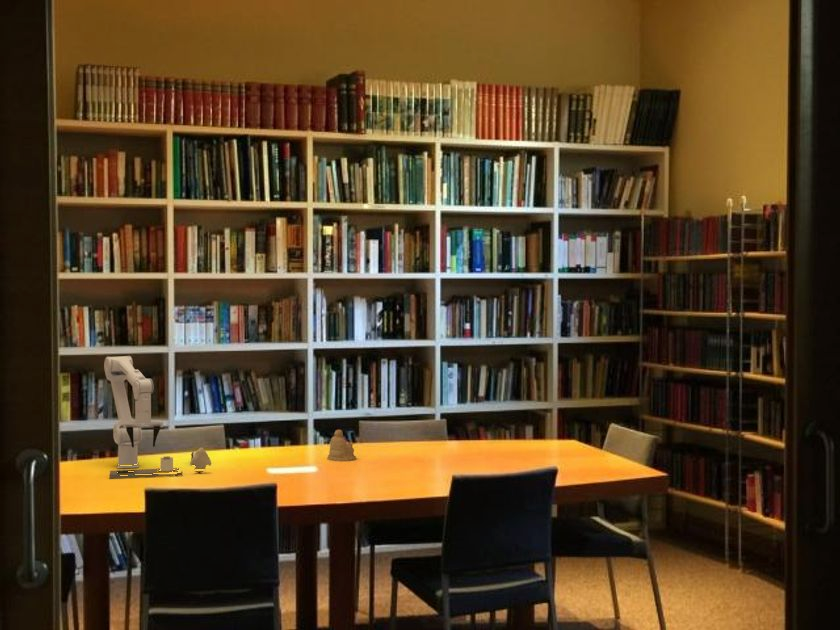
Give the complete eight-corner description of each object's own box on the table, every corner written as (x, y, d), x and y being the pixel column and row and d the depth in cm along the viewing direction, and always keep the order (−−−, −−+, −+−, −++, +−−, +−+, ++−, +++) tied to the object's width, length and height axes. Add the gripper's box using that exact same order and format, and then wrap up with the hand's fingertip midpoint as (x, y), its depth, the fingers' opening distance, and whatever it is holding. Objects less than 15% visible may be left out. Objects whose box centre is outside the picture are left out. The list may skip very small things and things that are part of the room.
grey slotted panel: (110, 474, 400) (110, 470, 400) (181, 472, 406) (181, 467, 406) (109, 478, 392) (109, 474, 392) (182, 475, 398) (182, 471, 398)
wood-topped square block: (160, 472, 402) (160, 456, 402) (172, 471, 403) (172, 455, 403) (160, 474, 398) (160, 458, 398) (173, 473, 399) (173, 457, 399)
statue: (316, 434, 432) (331, 424, 440) (323, 466, 436) (337, 455, 444) (340, 437, 425) (354, 427, 433) (346, 469, 429) (361, 458, 437)
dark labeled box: (211, 459, 437) (211, 449, 437) (211, 471, 412) (211, 460, 412) (175, 460, 434) (175, 450, 434) (173, 472, 410) (173, 461, 409)
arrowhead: (190, 474, 402) (190, 447, 401) (189, 473, 404) (189, 446, 404) (211, 473, 404) (211, 447, 403) (211, 472, 406) (211, 446, 406)
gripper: (122, 412, 398) (123, 449, 399) (162, 411, 402) (163, 447, 402) (123, 410, 405) (123, 446, 406) (162, 409, 408) (163, 444, 409)
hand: (143, 446), depth 404 cm, fingers open, 7 cm apart
